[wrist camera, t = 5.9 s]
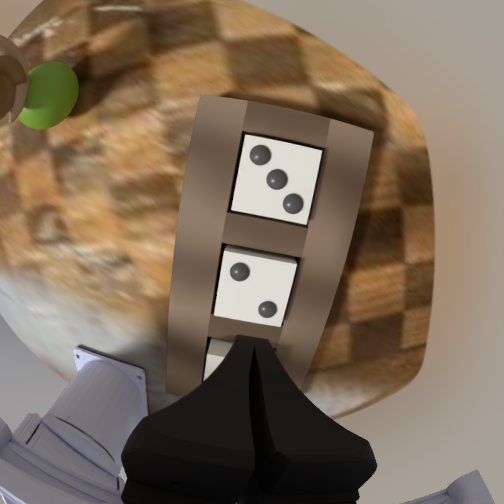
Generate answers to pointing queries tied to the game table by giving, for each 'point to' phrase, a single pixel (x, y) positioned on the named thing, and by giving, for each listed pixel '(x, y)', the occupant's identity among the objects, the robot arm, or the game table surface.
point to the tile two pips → (254, 285)
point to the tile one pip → (216, 354)
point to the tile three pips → (276, 179)
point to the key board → (259, 233)
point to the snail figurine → (35, 89)
